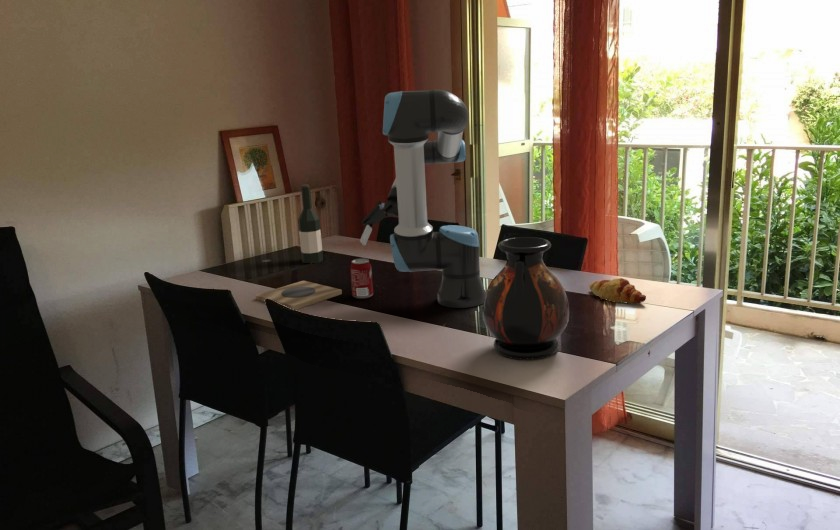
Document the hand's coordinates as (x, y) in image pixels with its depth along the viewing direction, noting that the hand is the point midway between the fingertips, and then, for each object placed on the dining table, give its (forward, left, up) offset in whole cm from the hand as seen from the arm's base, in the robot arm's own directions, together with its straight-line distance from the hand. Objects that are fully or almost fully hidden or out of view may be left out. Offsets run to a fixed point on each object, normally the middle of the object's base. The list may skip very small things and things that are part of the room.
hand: (378, 245), depth 242 cm
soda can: (-2, +11, -15) cm, 18 cm away
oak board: (+16, +23, -15) cm, 31 cm away
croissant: (-70, -31, -15) cm, 78 cm away
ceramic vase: (-71, +19, -15) cm, 75 cm away
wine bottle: (+49, -10, -15) cm, 52 cm away
